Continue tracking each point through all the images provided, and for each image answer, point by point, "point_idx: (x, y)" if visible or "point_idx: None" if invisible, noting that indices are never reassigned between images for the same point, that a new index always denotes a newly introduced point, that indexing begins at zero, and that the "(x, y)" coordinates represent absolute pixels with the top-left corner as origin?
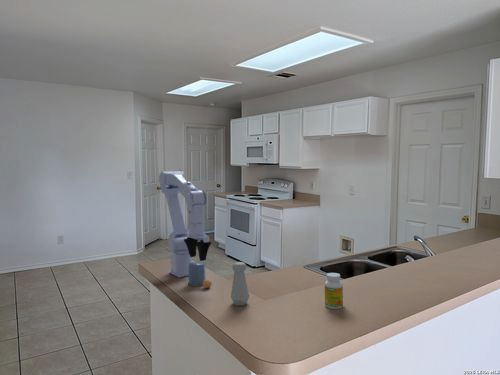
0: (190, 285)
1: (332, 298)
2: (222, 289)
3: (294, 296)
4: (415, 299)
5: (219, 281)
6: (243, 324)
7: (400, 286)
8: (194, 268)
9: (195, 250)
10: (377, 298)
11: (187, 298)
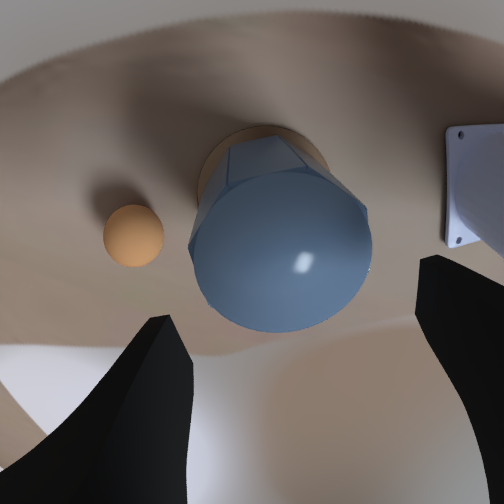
0: (235, 133)
1: None
2: (92, 287)
3: (12, 408)
4: None
5: None
6: None
7: None
8: (207, 206)
9: (449, 366)
10: (16, 460)
11: (24, 82)
